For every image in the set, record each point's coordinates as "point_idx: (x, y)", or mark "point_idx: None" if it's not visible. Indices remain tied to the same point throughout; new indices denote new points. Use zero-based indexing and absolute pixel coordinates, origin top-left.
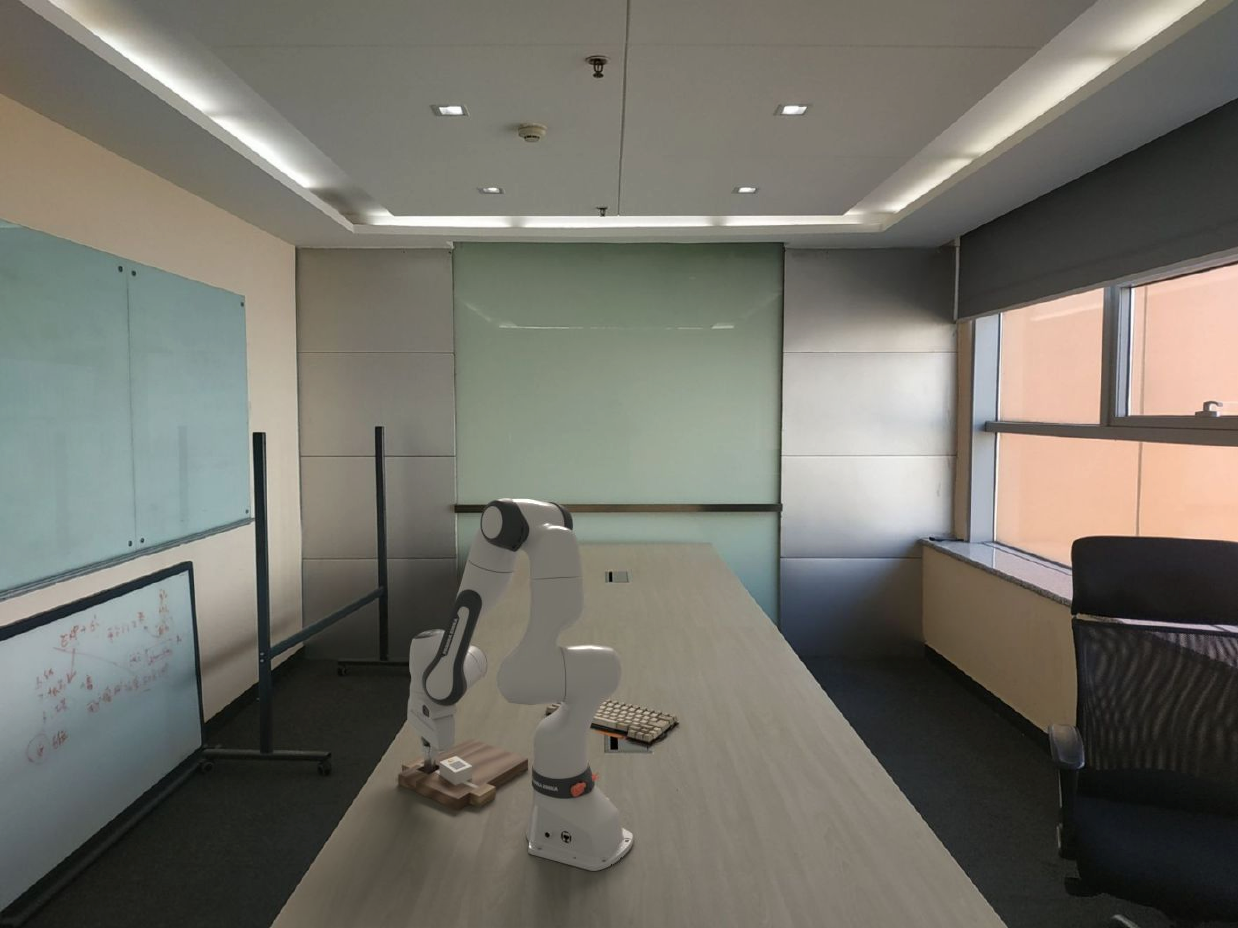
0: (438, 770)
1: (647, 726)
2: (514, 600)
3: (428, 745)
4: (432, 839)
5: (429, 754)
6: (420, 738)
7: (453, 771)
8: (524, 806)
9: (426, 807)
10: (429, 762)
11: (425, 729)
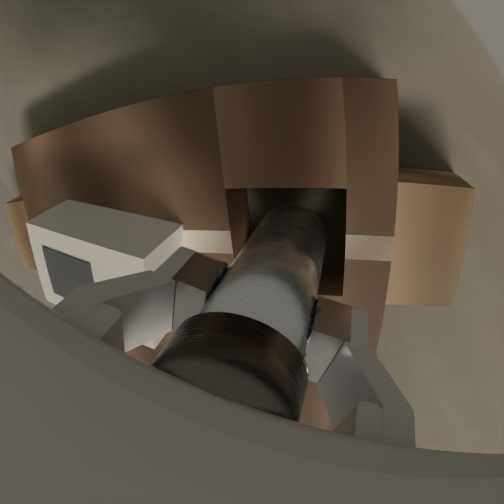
0: (225, 252)
1: None
2: None
3: (181, 324)
4: (4, 24)
5: (201, 270)
6: (390, 393)
7: (35, 225)
8: (9, 256)
9: (101, 60)
10: (244, 246)
11: (14, 459)
